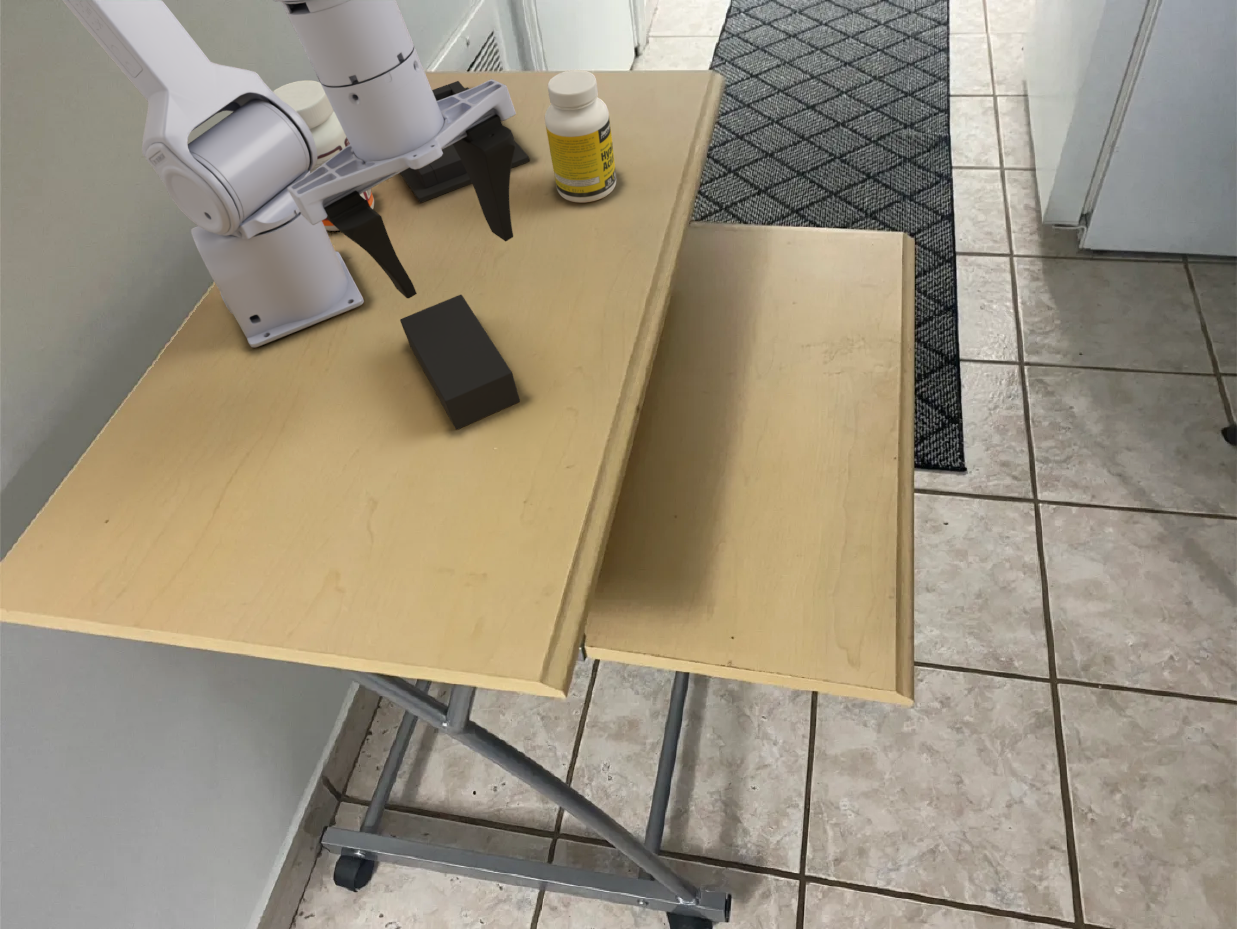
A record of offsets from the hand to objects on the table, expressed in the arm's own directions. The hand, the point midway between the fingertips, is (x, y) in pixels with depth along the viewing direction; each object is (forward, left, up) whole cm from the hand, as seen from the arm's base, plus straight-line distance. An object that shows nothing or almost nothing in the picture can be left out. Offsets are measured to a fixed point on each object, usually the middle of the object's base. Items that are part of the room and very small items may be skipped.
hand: (455, 262), depth 61 cm
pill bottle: (-4, +26, -9) cm, 27 cm away
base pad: (+8, +31, -9) cm, 33 cm away
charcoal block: (-2, 0, -9) cm, 9 cm away
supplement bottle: (+16, +16, -9) cm, 24 cm away
